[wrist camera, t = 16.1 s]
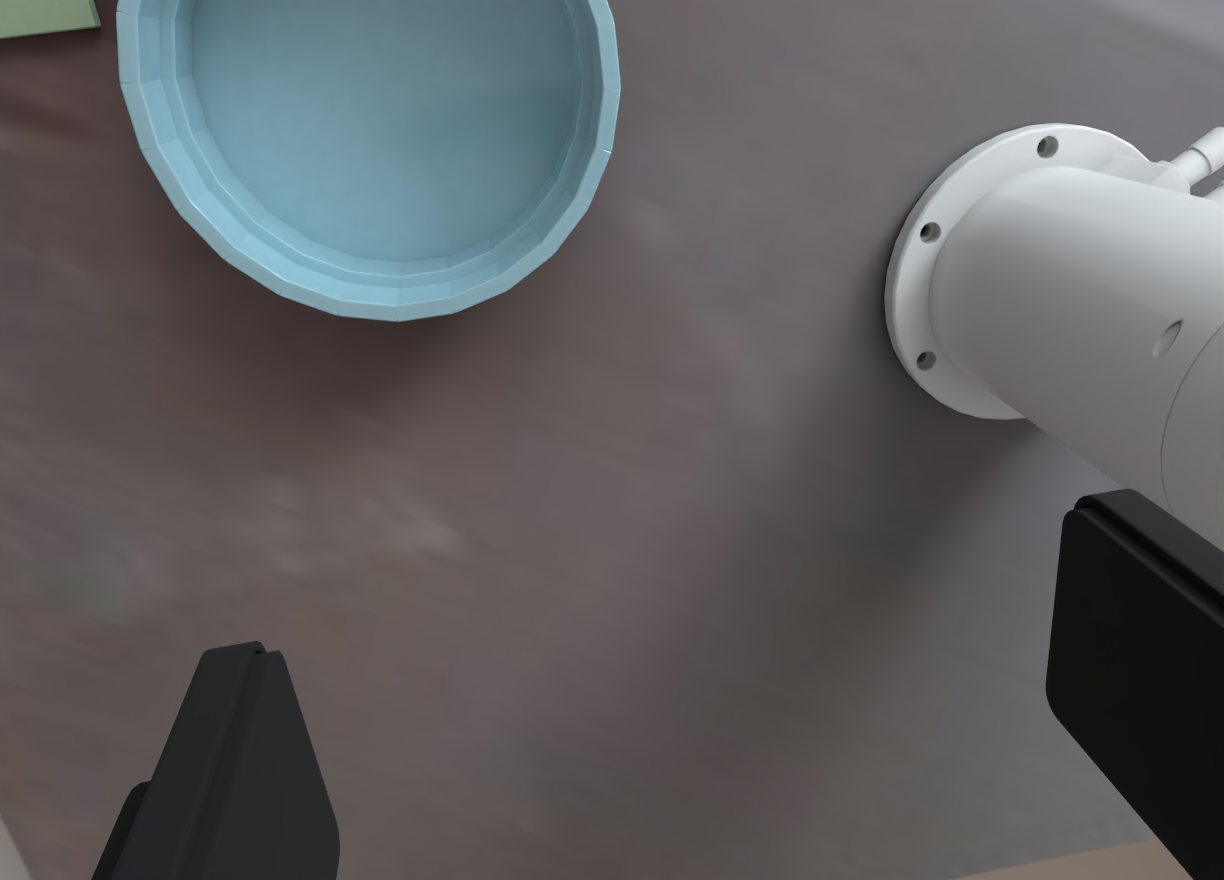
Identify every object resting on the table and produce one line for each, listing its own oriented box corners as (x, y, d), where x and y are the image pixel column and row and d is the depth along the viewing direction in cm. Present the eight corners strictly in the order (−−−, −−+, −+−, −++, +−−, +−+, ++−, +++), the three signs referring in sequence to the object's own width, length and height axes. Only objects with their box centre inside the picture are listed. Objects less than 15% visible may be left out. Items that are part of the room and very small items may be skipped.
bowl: (409, -283, 30) (400, -337, 25) (678, 119, 36) (708, 134, 32) (65, 28, 32) (0, 31, 27) (375, 358, 38) (363, 404, 34)
